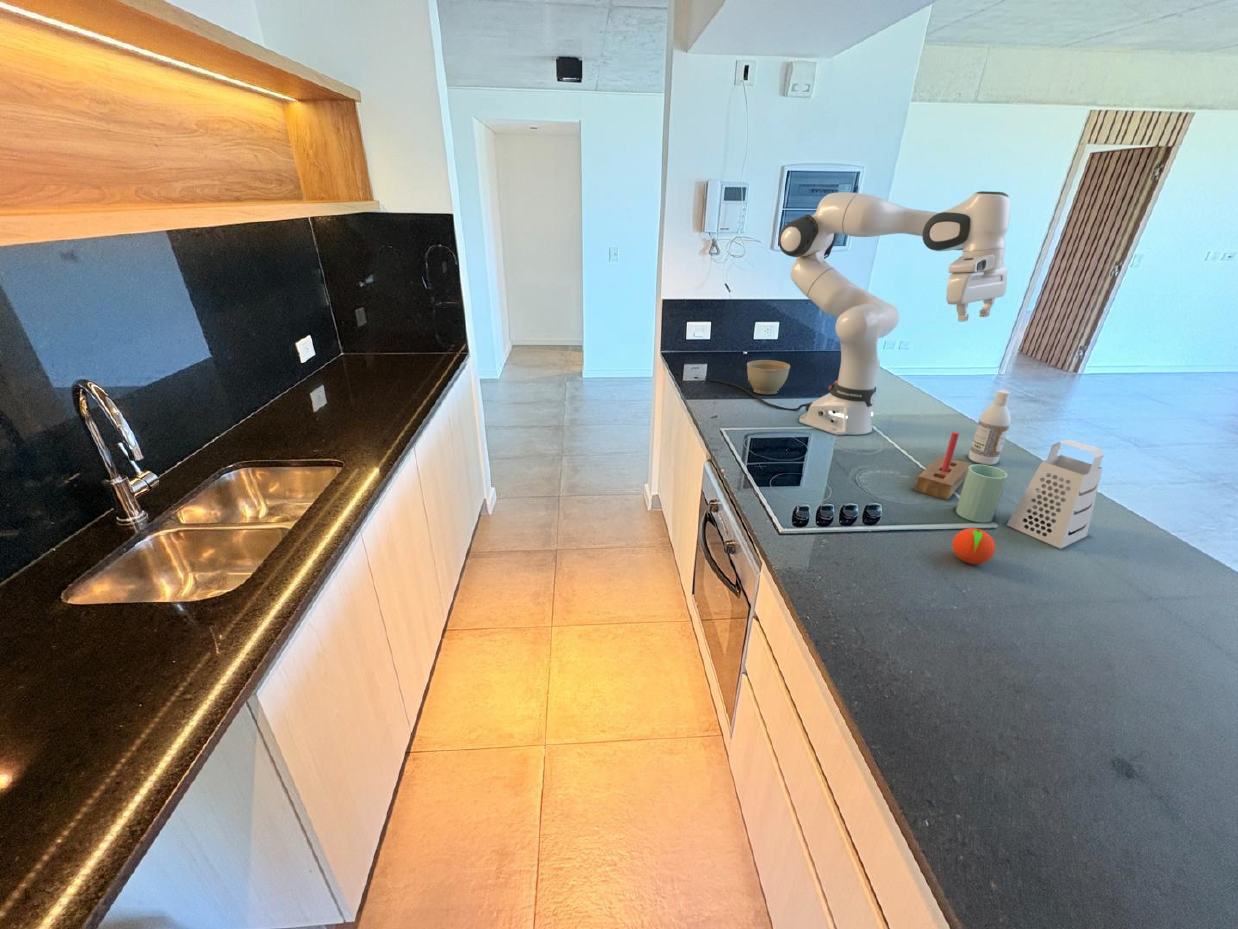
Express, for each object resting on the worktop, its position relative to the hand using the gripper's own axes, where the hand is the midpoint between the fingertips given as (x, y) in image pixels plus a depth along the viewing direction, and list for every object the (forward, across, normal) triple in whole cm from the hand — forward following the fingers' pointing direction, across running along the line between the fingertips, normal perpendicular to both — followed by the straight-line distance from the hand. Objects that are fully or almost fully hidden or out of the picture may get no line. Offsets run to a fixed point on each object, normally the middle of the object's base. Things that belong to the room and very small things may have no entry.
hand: (973, 318), depth 137 cm
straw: (+38, +20, +9) cm, 44 cm away
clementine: (+40, +48, +32) cm, 70 cm away
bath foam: (+39, -4, +5) cm, 40 cm away
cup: (+39, +28, +22) cm, 53 cm away
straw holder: (+38, +20, +9) cm, 44 cm away
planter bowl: (+30, +2, -74) cm, 80 cm away
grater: (+41, +22, +33) cm, 57 cm away
